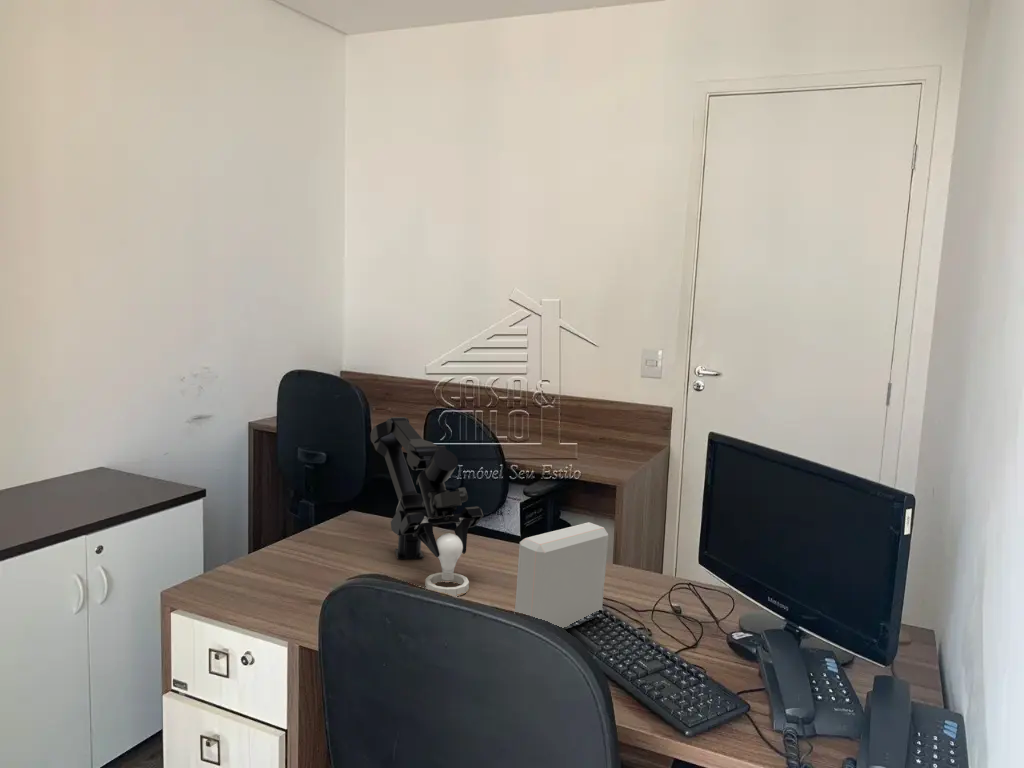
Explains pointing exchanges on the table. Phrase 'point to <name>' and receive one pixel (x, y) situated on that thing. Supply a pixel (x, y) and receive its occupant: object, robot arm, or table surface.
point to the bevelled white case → (562, 574)
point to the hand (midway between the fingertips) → (451, 554)
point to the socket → (450, 590)
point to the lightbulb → (449, 554)
